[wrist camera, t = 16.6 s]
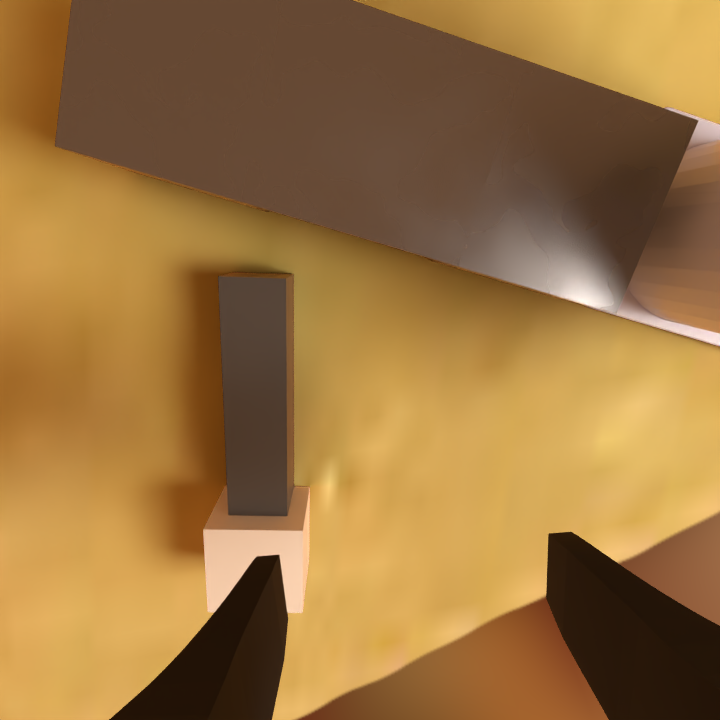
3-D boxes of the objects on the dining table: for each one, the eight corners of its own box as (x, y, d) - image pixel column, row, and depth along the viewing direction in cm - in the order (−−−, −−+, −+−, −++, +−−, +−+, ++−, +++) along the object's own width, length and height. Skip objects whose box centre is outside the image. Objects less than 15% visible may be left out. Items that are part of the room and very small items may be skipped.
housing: (606, 152, 18) (699, 120, 14) (551, 296, 20) (616, 313, 15) (159, 3, 17) (82, -94, 12) (133, 171, 18) (55, 146, 13)
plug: (311, 274, 19) (303, 281, 16) (309, 557, 23) (302, 612, 20) (216, 271, 19) (188, 277, 16) (228, 557, 23) (207, 612, 19)
